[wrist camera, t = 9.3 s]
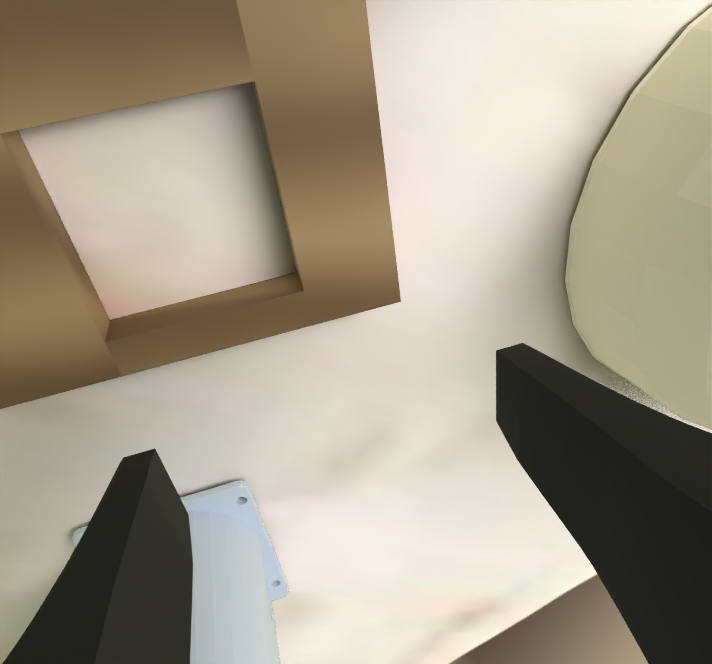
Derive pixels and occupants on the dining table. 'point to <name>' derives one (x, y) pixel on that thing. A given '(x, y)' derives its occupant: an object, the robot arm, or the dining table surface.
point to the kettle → (653, 235)
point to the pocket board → (170, 80)
